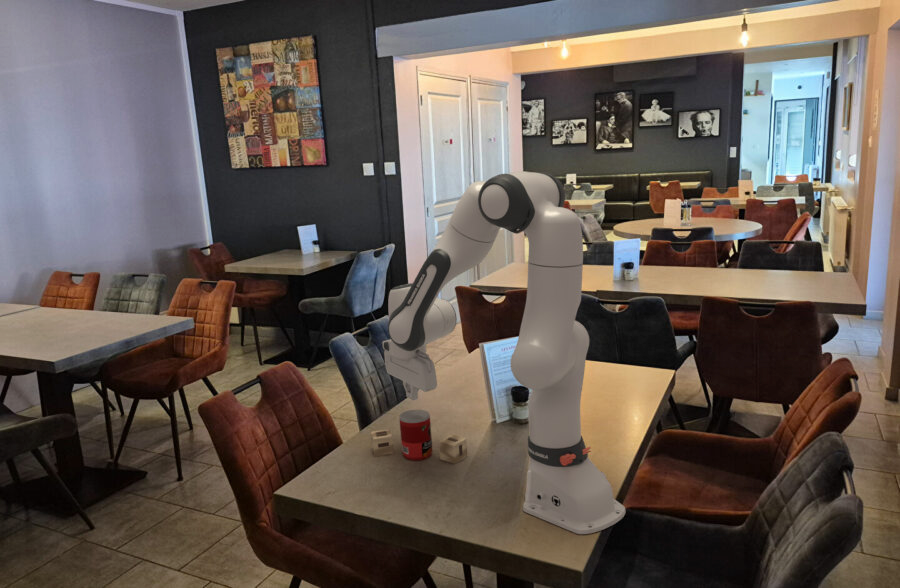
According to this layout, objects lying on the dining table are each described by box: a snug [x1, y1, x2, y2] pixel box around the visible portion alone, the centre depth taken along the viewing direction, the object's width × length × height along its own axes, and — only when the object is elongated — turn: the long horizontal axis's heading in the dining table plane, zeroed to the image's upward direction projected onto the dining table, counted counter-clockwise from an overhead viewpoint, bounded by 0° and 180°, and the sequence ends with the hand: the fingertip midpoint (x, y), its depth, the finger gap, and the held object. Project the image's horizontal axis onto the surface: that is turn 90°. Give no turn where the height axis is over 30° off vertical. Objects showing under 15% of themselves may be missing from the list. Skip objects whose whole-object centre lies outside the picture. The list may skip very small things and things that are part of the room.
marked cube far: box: [370, 428, 395, 457], centre depth 173 cm, size 5×5×5 cm
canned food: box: [399, 409, 433, 461], centre depth 169 cm, size 8×8×11 cm
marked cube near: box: [438, 434, 468, 465], centre depth 166 cm, size 5×5×5 cm
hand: (412, 398), depth 167 cm, fingers closed
